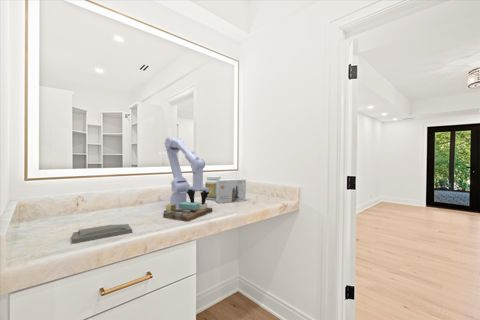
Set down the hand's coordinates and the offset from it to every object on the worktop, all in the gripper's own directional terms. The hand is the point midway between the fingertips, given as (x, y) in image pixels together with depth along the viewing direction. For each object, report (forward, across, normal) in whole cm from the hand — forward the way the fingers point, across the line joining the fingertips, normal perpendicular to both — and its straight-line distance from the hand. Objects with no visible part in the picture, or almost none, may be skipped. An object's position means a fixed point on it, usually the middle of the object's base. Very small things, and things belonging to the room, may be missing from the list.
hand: (197, 203), depth 128 cm
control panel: (+4, 0, -8) cm, 9 cm away
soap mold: (+5, -12, -48) cm, 50 cm away
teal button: (+1, 0, -8) cm, 8 cm away
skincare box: (+5, +5, +33) cm, 34 cm away
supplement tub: (+5, -12, +37) cm, 39 cm away
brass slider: (+2, -6, -16) cm, 17 cm away
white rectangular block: (+2, 0, 0) cm, 2 cm away
